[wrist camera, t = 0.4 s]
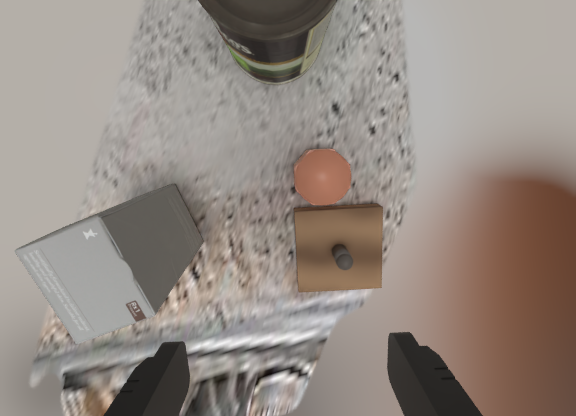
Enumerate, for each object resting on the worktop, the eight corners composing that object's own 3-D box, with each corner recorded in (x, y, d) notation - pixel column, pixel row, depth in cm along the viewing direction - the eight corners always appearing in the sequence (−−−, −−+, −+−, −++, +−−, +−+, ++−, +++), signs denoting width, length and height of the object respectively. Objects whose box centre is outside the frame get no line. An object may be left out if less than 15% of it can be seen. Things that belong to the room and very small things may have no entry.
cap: (292, 150, 33) (293, 151, 28) (341, 147, 33) (351, 147, 28) (295, 198, 34) (296, 207, 29) (342, 195, 34) (351, 203, 29)
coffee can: (260, 104, 32) (241, 72, 18) (207, 15, 30) (140, -96, 16) (341, 51, 31) (386, -26, 17) (291, -45, 29) (296, -219, 15)
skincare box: (128, 201, 34) (-4, 247, 19) (182, 179, 34) (93, 209, 18) (160, 263, 36) (63, 353, 20) (212, 243, 35) (154, 320, 20)
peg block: (293, 208, 34) (295, 221, 28) (377, 203, 34) (396, 215, 28) (297, 284, 36) (300, 311, 31) (376, 280, 36) (393, 306, 30)
